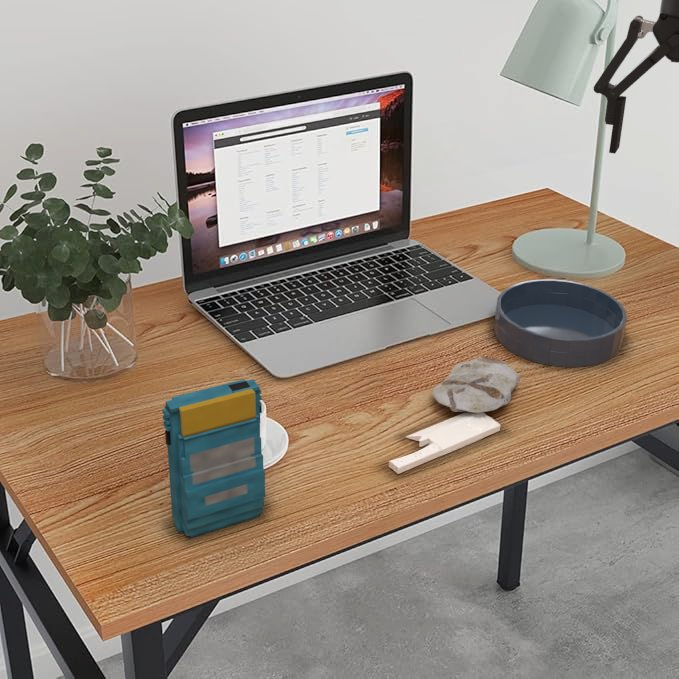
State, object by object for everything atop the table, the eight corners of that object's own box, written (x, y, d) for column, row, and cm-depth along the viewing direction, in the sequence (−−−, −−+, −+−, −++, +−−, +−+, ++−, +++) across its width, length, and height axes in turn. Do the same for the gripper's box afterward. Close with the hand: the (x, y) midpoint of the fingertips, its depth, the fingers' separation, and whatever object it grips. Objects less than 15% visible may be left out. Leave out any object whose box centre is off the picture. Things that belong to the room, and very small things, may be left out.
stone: (498, 431, 123) (501, 407, 121) (423, 413, 126) (425, 388, 124) (523, 384, 132) (526, 361, 131) (453, 367, 135) (455, 345, 134)
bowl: (633, 321, 147) (638, 295, 145) (605, 379, 134) (609, 352, 132) (515, 294, 153) (518, 269, 151) (476, 347, 140) (479, 321, 138)
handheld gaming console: (255, 495, 112) (253, 374, 105) (272, 517, 109) (271, 395, 102) (167, 521, 108) (158, 398, 101) (182, 546, 105) (174, 420, 98)
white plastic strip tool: (370, 451, 119) (370, 443, 119) (471, 411, 127) (472, 403, 126) (397, 474, 116) (398, 466, 115) (500, 431, 123) (501, 423, 123)
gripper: (582, -24, 123) (562, 152, 133) (814, -4, 114) (773, 183, 125) (596, -35, 129) (576, 134, 139) (817, -17, 120) (778, 162, 131)
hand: (669, 157), depth 132 cm, fingers open, 13 cm apart
